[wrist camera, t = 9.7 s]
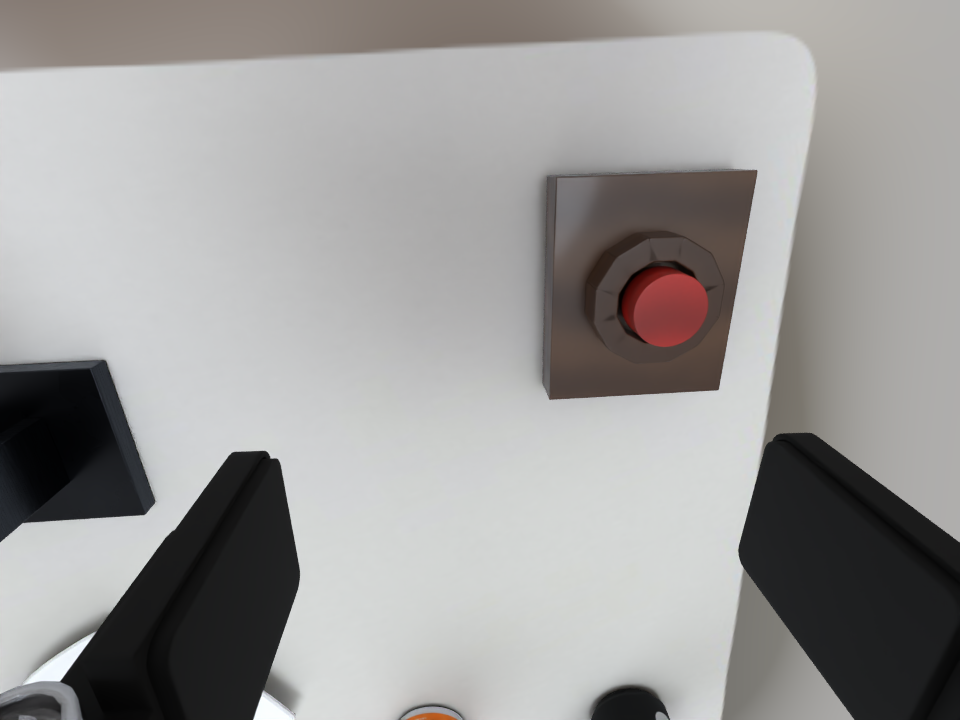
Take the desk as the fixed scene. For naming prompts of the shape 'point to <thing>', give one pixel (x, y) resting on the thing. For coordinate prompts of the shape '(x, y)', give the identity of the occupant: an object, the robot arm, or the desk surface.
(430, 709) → the pill bottle
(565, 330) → the control block
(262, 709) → the plate
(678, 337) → the button
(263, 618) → the robot arm
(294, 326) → the desk surface
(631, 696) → the beverage can
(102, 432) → the bracket
